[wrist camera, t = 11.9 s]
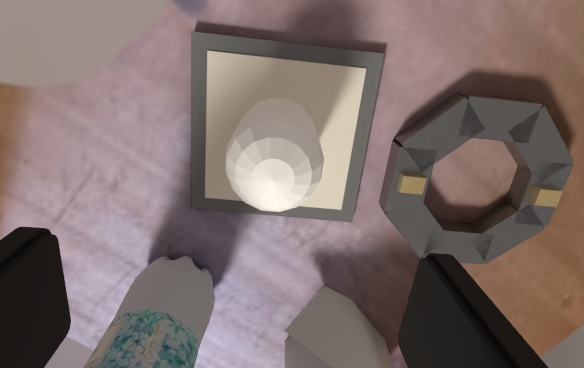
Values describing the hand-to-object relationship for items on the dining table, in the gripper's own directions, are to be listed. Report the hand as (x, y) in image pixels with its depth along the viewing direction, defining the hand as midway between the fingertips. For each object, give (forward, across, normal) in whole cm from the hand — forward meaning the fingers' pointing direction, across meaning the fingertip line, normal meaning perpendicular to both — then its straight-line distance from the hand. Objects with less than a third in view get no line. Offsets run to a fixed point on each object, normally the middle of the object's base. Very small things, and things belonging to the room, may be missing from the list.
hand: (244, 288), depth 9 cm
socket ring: (+16, -15, +2) cm, 22 cm away
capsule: (+16, -1, 0) cm, 16 cm away
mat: (+16, -1, 0) cm, 16 cm away
